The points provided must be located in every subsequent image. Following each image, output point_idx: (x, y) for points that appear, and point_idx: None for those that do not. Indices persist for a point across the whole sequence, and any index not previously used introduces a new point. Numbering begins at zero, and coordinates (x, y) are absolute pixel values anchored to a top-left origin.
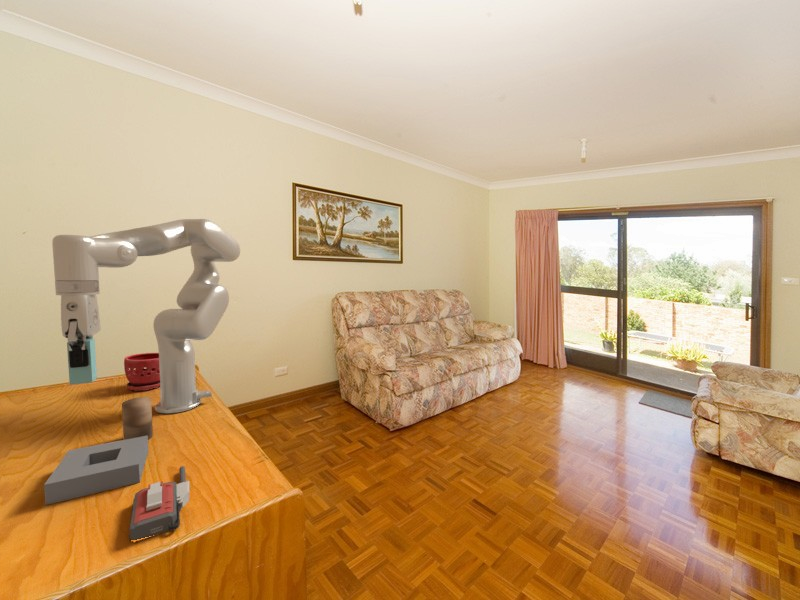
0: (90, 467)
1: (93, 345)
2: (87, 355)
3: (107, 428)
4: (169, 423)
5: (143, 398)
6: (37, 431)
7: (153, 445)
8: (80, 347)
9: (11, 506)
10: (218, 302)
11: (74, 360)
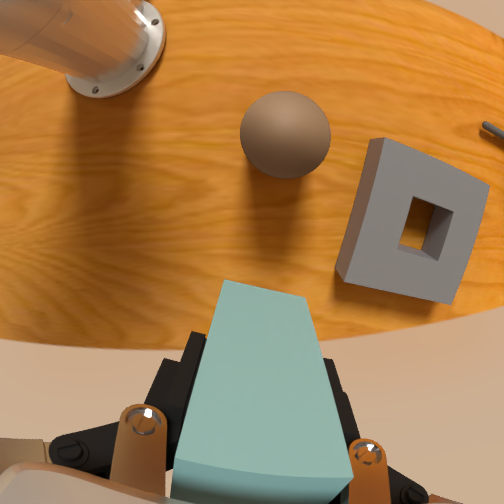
0: (451, 250)
1: (237, 419)
2: (344, 402)
3: (153, 199)
4: (225, 70)
5: (266, 111)
6: (92, 313)
7: (345, 124)
8: (392, 469)
9: (402, 325)
10: None
11: None
